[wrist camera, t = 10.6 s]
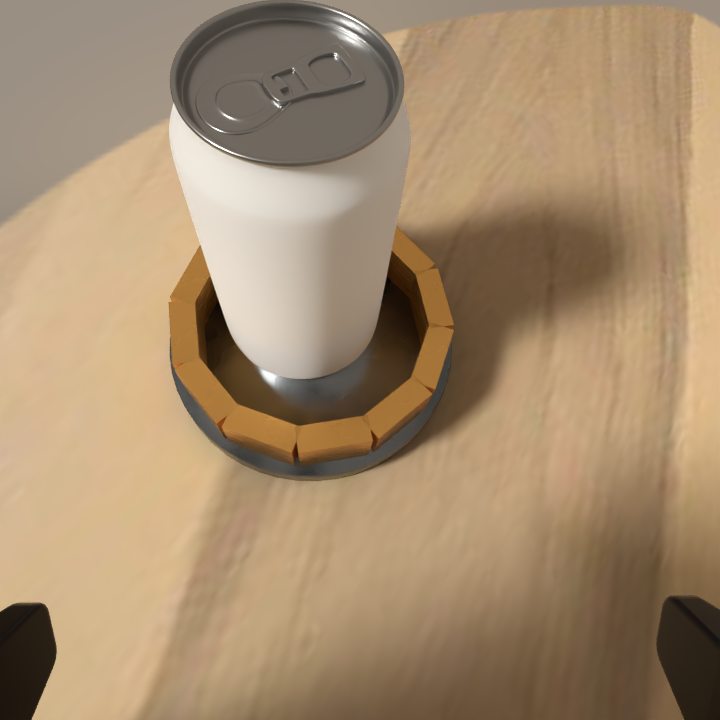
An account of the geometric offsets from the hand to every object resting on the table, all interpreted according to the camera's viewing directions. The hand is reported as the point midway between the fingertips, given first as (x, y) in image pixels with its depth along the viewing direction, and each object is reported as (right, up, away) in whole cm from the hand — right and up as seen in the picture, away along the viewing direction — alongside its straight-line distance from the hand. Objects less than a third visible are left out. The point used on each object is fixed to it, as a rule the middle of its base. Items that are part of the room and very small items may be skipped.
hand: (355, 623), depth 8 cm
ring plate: (-2, +4, +17) cm, 17 cm away
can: (-2, +6, +16) cm, 18 cm away
